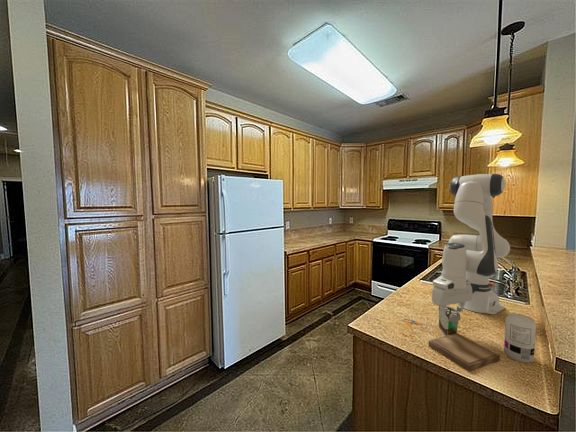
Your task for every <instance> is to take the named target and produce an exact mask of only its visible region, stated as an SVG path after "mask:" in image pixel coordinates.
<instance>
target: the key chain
mask: <svg viewBox="0 0 576 432" xmlns="http://www.w3.org/2000/svg"><path fill="white" fill-rule="evenodd" d="M405 320H406V321H405ZM407 320H408V322H407ZM409 321H410V322H409ZM402 322H406V323H405V325H406V326H408V327H412V326H413V325H412V324H414V325H419V326H421V329H422V330H424V331H425V332H428V333H430V330H428V329H427V327H425V326H427V323H426V324H425V323H422V322H420V321H416V320H411V319H408V318H403V319H402ZM423 325H424V326H423Z"/></svg>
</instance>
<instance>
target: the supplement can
mask: <svg viewBox="0 0 576 432" xmlns="http://www.w3.org/2000/svg"><path fill="white" fill-rule="evenodd" d="M504 324H505V326H504V344H503V345H504V346H503V352H504V353H505V354H506V356H507V357H508V358H510V359H513V360H514V361H517V362H521V363H527V364H529V363H533V362H534V361H535V352H536V350H535V349H536V334H537V324H536V322H535V320H534V319H533V318H531V317H530V316H527V315H524V314H521V313H513V312H512V313H508V315H507V316H506V317H505V323H504Z"/></svg>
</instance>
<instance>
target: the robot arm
mask: <svg viewBox="0 0 576 432" xmlns="http://www.w3.org/2000/svg"><path fill="white" fill-rule="evenodd" d="M505 188H506V180H505V178H504V176H503V175H502V174H499V173H477V174H467V175H463V176H461V175H458V176H455V177H453V178H452V179H451V180H450V182H449V192H450V194H451V195H452V196H453V197H455V198H454V203H453V204H454V205H453V215H454V217H455V218H456V219H457V220H458V221H459V222H461V223H463V224H465V225H467V226H468V227H469V228H471V229H473V230H475V231H478V233H479V235H474V234H463V233H462V234H454V235H452V236H450V238H449V240H448V243H446V244H445V245H444V247H443V252H442V256H441V257H442V258H441V261H442V262H441V264H442V270H441V275H440V276H438V277H437V278H435V279H433V280H432V286H433V287H432V291H431V302H432V304H434V305H436V306H437V307H438V308H439V307H440V309H441V314H443V315H447V311H446V309H445V308H446V306H450V305H451V306H452V305H456V304H458V306H456V310H457V311H458V312H459V313H461V312H463V311H464V309H465V310H467V311H470V312H475V313H478V314H479V313H480V314H488V315H496V314H498V313H500V312H502V311H503V310H505V309H506V306H505V305H504V304H502V303H500V297H499V295H498V294H496V293H495V292H494V291H493V290H492V288H494V287H495V283H494V282H490V277H491V276H493V275H494V274H496V273H497V271H498V268H499V261H498V259H497V258H500V259H501V258H505V257H507V256H508V254H510V251H511V245H510V243H509V242H508V240H507V239H506V238H504V237H502V235H500V234H499V233H498V232H497V231H496V228H495V227H494V222H493V208H494V207H493V205H494V204H493V199H495V197H497V196H500V195H501V194H502V193H504V190H505Z"/></svg>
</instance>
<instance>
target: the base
mask: <svg viewBox="0 0 576 432" xmlns="http://www.w3.org/2000/svg"><path fill="white" fill-rule="evenodd" d="M428 347H430V348H432V349H433V350H434V351H436V352H438V353H440V354H441V355H442V356H444V357H445V358H447V359H448V360H450V361H451V362H454V363H455V364H457V365H458V366H460V367H461V368H463V369H465V370H466V371H468V372H472V371H474V370H477V369H480V368H483V367H486V366H488V365H491V364H494V363H497V362H500V361H501V355H500V354H498V353H497V352H494V351H493V350H491V349H488V348H487V347H486V346H485V347H484V346H482V345H480V344H479V343H477V342H475V341H473V340H471V339H469V338H467V337H465V336H463V335H461V334H460V333H458V332H457V333H455V334H452V335H448V336H445V335H444V336H442V337H437V338H434V339H430V340H428Z"/></svg>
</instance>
